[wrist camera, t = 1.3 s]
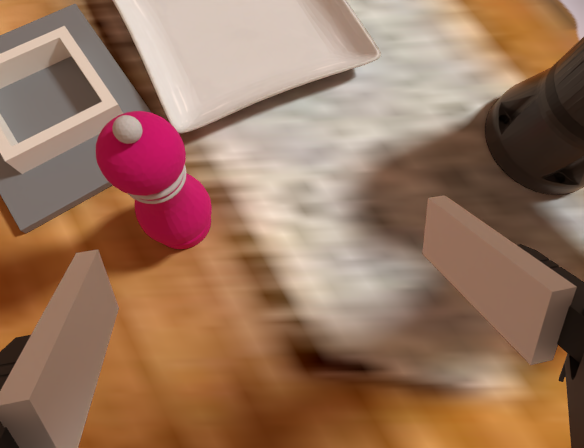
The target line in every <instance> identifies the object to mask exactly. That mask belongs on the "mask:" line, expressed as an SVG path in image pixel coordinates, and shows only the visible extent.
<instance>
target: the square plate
mask: <svg viewBox="0 0 584 448" xmlns="http://www.w3.org/2000/svg"><path fill="white" fill-rule="evenodd" d="M112 1H113V3H114V5H115V6H116V8H117V10H118V12H119V14H120V16H121V18H122V20H123V22H124V23H125V25H126V27H127V29H128V31H129V33H130V35H131V37H132V40H133V42H134V44H135V46H136V48H137V50H138V52H139V55H140V57H141V59H142V61H143V64H144V66H145V68H146V71H147V73H148V75H149V77H150V79H151V82H152V84H153V87H154V89H155V91H156V94H157V96H158V98H159V100H160V103H161V105H162V107H163V109H164V112H165V114H166V116H167V118H168V120H169V122H170V124H171V125H172V126H173V127H174V128H175V129H176V130H177V132H178V133H181V134H182V133H186V132H190V131H193V130H195V129H198V128H200V127H203V126H205V125H208V124H210V123H212V122H215V121H217V120H219V119H221V118H223V117H226V116H228V115H230V114H232V113H234V112H237V111H239V110H241V109H243V108H246V107H248V106H250V105H252V104H255V103H257V102H260V101H262V100H265V99H267V98H270V97H272V96H275V95H277V94H280V93H282V92H285V91H288V90H290V89H293V88H296V87H299V86H302V85H304V84H307V83H310V82H313V81H316V80H319V79H322V78H325V77H328V76H331V75H334V74H338V73H341V72H344V71H347V70H350V69H353V68H356V67H360V66H362V65H365V64H368V63H371V62H373V61H375V60H377V59H378V58H380V56H381V52H380V50H379V48H378V47H377V45H376V43H375V42H374V40H373V39H372V37H371V36H370V34H369V33H368V31H367V30H366V28H365V27H364V26H363V24H362V23H361V21H360V20H359V18H358V17H357V15H356V14H355V12H354V11H353V9H352V8H351V7H350V5H349V4H348V2H347V1H346V0H112Z"/></svg>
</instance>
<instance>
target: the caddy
mask: <svg viewBox="0 0 584 448" xmlns="http://www.w3.org/2000/svg"><path fill="white" fill-rule="evenodd" d="M133 111H145V112H150V113H152V112H151V111H150V110H149V108H148V107H147V105H146V104H145V102H144V101H143V100H142V98H141V97H140V95H139V94H138V92H137V91H136V90H135V88H134V87H133V85H132V84H131V82H130V81H129V80H128V78H127V77H126V75H125V74H124V72H123V71H122V70H121V68H120V67H119V65H118V64H117V62H116V61H115V60H114V58H113V57H112V55H111V54H110V52H109V51H108V50H107V48H106V47H105V45H104V44H103V42H102V41H101V40H100V38H99V37H98V35H97V34H96V32H95V31H94V30H93V28H92V27H91V25H90V24H89V22H88V21H87V20H86V18H85V17H84V15H83V14H82V12H81V11H80V10H79V8H78V7H77V5H76V4H73V5H71V6H69V7H66V8H64V9H61V10H59V11H57V12H54V13H52V14H50V15H47V16H45V17H43V18H40V19H38V20H36V21H33V22H31V23H29V24H26V25H24V26H22V27H19V28H17V29H14V30H12V31H10V32H7V33H5V34H3V35H0V195H1V197H2V198H3V200H4V202H5V204H6V205H7V207H8V209H9V211H10V213H11V214H12V216H13V218H14V220H15V221H16V223H17V225H18V227H19V229H20V230H21V231H22V232H24V233H28V232H30V231H31V230H33V229H35V228H37V227H39V226H40V225H42V224H44V223H46V222H48V221H49V220H51V219H53V218H55V217H57V216H58V215H60V214H62V213H64V212H65V211H67V210H69V209H71V208H73V207H74V206H76V205H78V204H80V203H82V202H83V201H85V200H87V199H89V198H91V197H92V196H94V195H96V194H98V193H100V192H101V191H103V190H105V189H107V188H108V187H110V186H112V184H111V183H110V182H109V181H107V179H106V178H105V176H104V175H103V174H102V172H101V170H100V168H99V166H98V163H97V160H96V142H97V139H98V136H99V134H100V132H101V130H102V129H103V128H104V126H105V125H106V124H107V123H108V122H109V121H111V120H112V119H113V118H115V117H117V116H118V115H121V114H124V113H127V112H133Z"/></svg>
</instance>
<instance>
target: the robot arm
mask: <svg viewBox="0 0 584 448" xmlns="http://www.w3.org/2000/svg"><path fill="white" fill-rule="evenodd" d="M485 132H486V139H487V143H488V146H489V149H490V151H491V153H492V155H493V157H494V159H495V160H496V162H497V163H498V164H499V166H500V167H501V168H502V169H503V170H504V171H505V172H506V173H507V174H508V175H509V176H510V177H511V178H512V179H514V180H515V181H517V182H518V183H520V184H521V185H523V186H525V187H527V188H529V189H532V190H534V191H537V192H541V193H545V194H554V195H560V194H567V193H571V192H574V191H577V190H579V189H581V188H583V187H584V37H583V38H582V39H581V40H580V41H579V42H578V43H577V44H576V45H575V46H574V47H572V48H571V49H570V50H569V51H568V52H567V53H566V54H565V55H564V56H563V57H562V58H561V59H560V60H559V61H558V62H557V63H556V64H555V65H554V66H552V67H551V68H549V69H547V70H545V71H543V72H541V73H539V74H537V75H535V76H533V77H531V78H529V79H527V80H525V81H523V82H521V83H518V84H516V85H515V86H513V87H512V88H510V89H509V90H507V91H506V92H505V93H504V94H503V95H502V96H501V97H500V98H499V99H498V100H497V101H496V102H495V104H494V105H493V106H492V108H491V109H490V111H489V113H488V116H487V119H486V126H485ZM422 254H423V255H424V256H425V257H426V258H427V259H428V260H429V261H430V262H431V263H432V264H433V265H434V266H435V267H436V268H437V269H438V270H439V271H440V272H441V273H442V275H443V276H444V277H445V278H446V279H447V280H448V281H449V282H450V283H451V284H452V285H453V286H454V287H455V288H456V289H457V290H458V291H459V292H460V293H461V294H462V295H463V296H464V297H465V298H466V299H467V300H468V301H469V302H470V303H471V304H472V305H473V306H474V307H475V308H476V309H477V311H478V312H479V313H480V314H481V315H482V316H483V317H484V318H485V319H486V320H487V321H488V322H489V323H490V324H491V325H492V326H493V327H494V328H495V329H496V330H497V331H498V332H499V333H500V334H501V335H502V336H503V337H504V338H505V339H506V340H507V341H508V342H509V343H510V344H511V345H512V346H513V348H514V349H515V350H516V351H517V352H518V353H519V354H520V355H521V356H522V357H523V358H524V359H525V360H526V361H527V362H528V363H529V364H530V365H533V364H538V363H542V362H546V361H550V360H553V358H554V355H555V352H556V349H557V346H558V345H559V346H560V347H561V348H563V349H564V350H565V351H566V352H567V353H568V354H567V357H566V360H565V363H564V365H563V368H562V371H561V374H560V377H559V381H561V382H563V380H564V377H566V385H567V398H568V411H569V424H570V436H571V448H584V282H583V281H581V280H580V279H578V278H577V277H575V276H574V275H572V274H571V273H569V272H568V271H566V270H565V269H563V268H562V267H559V265H557V264H556V263H554V262H553V261H549V259H548V258H547V257H545V256H544V255H542V254H541V253H539V252H538V251H536V250H534V249H531V248H529V247H526V246H523V245H521V244H520V245H516V244H514V243H513V242H511V241H510V240H509V239H507V238H506V237H504V236H503V235H501V234H500V233H498V232H497V231H496V230H494V229H493V228H491V227H490V226H488V225H487V224H486V223H484V222H483V221H481V220H480V219H478V218H477V217H475V216H474V215H473V214H471V213H470V212H468V211H467V210H465V209H464V208H462V207H461V206H460V205H458V204H457V203H455V202H454V201H452V200H451V199H449V198H448V197H447V196H445V195H443V196H437V197H430V198H428V202H427V212H426V222H425V232H424V242H423V252H422ZM118 309H119V307H118V305H117V302H116V299H115V296H114V293H113V290H112V287H111V284H110V282H109V279H108V276H107V273H106V270H105V267H104V264H103V262H102V259H101V256H100V253H99V250H92V251H85V252H79V253H76V254H75V256H74V258H73V260H72V262H71V263H70V265H69V267H68V269H67V271H66V272H65V274H64V276H63V278H62V280H61V282H60V283H59V285H58V287H57V289H56V291H55V292H54V294H53V296H52V298H51V300H50V302H49V303H48V305H47V307H46V309H45V311H44V312H43V314H42V316H41V318H40V320H39V322H38V323H37V325H36V327H35V329H34V331H33V332H32V334H31V335H28V336H22V337H17V338H15V339H14V340H13V341H12V342H11V343H9V344H8V345H7V346H6V347H5V348H4V349H3V350H2V351H1V352H0V448H78V446H79V443H80V439H81V436H82V433H83V429H84V426H85V422H86V419H87V415H88V412H89V409H90V405H91V402H92V398H93V395H94V391H95V388H96V385H97V381H98V378H99V374H100V371H101V367H102V364H103V361H104V357H105V354H106V350H107V347H108V343H109V340H110V337H111V333H112V330H113V326H114V323H115V319H116V316H117V313H118Z"/></svg>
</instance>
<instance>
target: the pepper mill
mask: <svg viewBox="0 0 584 448" xmlns="http://www.w3.org/2000/svg"><path fill="white" fill-rule="evenodd" d="M185 155H186V153H185V148H184V143H183V141H182V139H181V137H180V135H179V133H178V132H177V130H176V129H175V128H174V127H173V126H172V125H171V124H170V123H169V122H168V121H167V120H165V119H164V118H162V117H160V116H158V115H156V114H153V113H150V112H145V111H133V112H127V113H124V114H121V115H118V116H117V117H115V118H113V119H112V120H111V121H109V122H108V123H107V124H106V125H105V126H104V128H103V129H102V130H101V132H100V134H99V136H98V139H97V142H96V160H97V163H98V166H99V168H100V170H101V172H102V174H103V175H104V176H105V178H106V179H107V181H109V182H110V183H111V184H112V185H113V186H115V187H116V188H118V189H119V190H121V191H123V192H125V193H128V194H129V195H130V196H131V197H132V198H134V199H135V213H136V217H137V220H138V222H139V224H140V226H141V227H142V229H143V230H144V232H145V233H146V234H147V235H148V236H149V237H151V238H152V239H154V240H156V241H158V242H161V243H163V244H164V245H166V246H168V247H170V248H174V249H187V248H190V247H193V246H195V245H197V244H198V243H200V242H201V241H202V240H203V239H204V238H205V237H206V235H207V233H208V232H209V229H210V226H211V200H210V197H209V195H208V193H207V191H206V190H205V188H204V186H203V185H202V184H201V183H200V182H199V181H198V180H196V179H195V178H194V177H192V176H190V175H188V174H187V173H186V167H185Z"/></svg>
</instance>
